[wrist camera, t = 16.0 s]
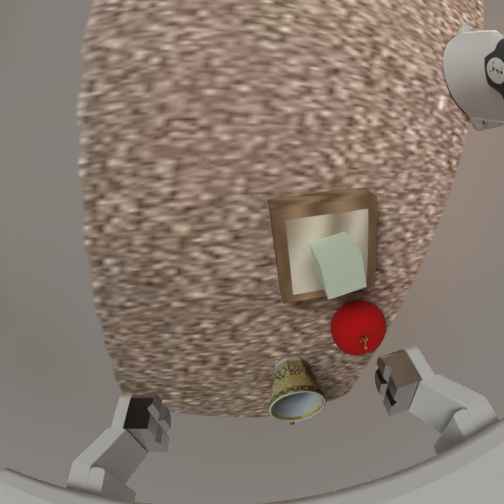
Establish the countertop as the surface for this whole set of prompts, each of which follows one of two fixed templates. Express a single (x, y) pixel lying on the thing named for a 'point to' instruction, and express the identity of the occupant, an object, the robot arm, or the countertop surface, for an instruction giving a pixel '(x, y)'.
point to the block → (338, 264)
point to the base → (320, 236)
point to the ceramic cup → (295, 392)
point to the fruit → (358, 327)
